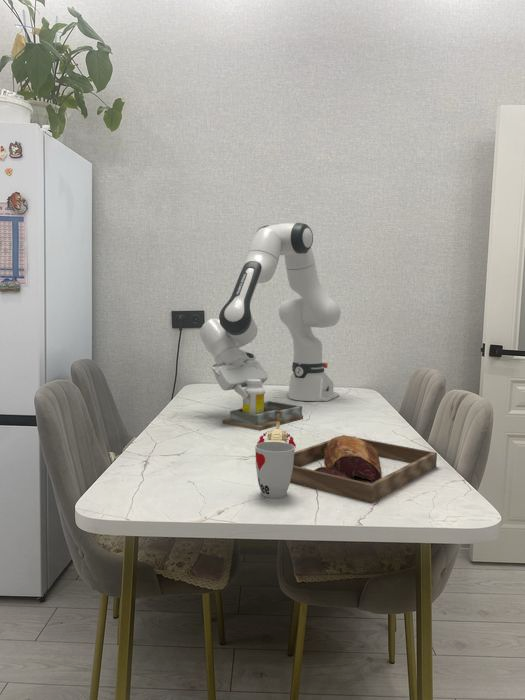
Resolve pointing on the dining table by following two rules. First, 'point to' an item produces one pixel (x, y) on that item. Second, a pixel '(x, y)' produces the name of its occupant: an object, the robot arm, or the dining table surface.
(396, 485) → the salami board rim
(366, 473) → the cured meat
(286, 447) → the cup
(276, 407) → the keyhole dock
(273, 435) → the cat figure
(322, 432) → the dining table surface
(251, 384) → the supplement bottle
